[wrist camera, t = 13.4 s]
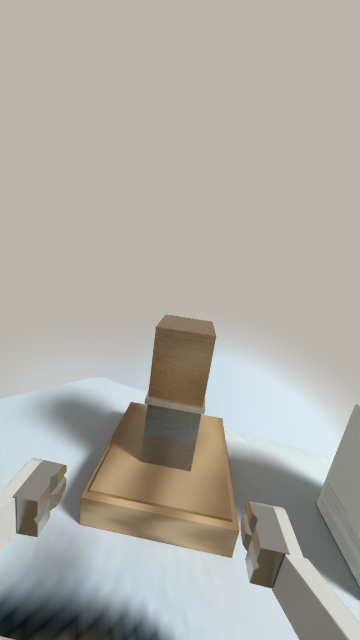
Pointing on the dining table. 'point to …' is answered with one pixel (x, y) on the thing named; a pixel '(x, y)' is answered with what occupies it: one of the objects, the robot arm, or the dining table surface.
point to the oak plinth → (164, 490)
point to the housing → (177, 390)
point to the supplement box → (345, 495)
